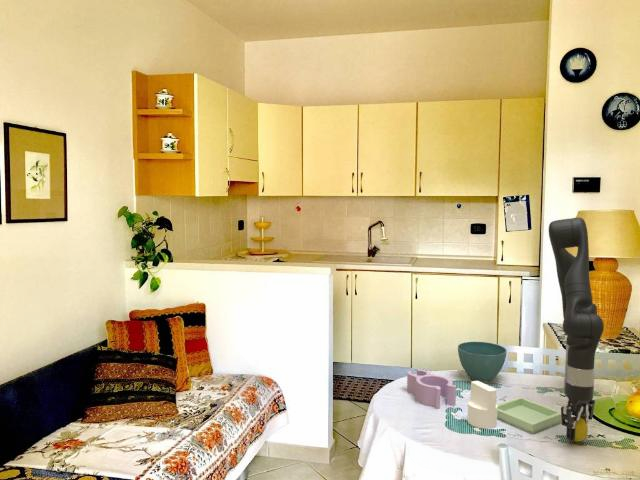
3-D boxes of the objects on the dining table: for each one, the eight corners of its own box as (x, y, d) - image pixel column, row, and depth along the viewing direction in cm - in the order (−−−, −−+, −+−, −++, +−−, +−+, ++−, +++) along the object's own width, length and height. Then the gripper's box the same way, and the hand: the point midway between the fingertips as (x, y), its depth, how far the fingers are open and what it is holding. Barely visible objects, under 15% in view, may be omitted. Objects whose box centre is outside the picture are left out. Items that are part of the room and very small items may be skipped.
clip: (398, 390, 199) (399, 372, 199) (426, 385, 205) (426, 367, 204) (432, 410, 181) (432, 390, 181) (461, 404, 187) (462, 385, 186)
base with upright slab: (461, 419, 175) (462, 382, 173) (483, 414, 178) (485, 379, 177) (480, 430, 166) (481, 392, 165) (503, 425, 170) (504, 388, 169)
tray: (519, 405, 186) (520, 396, 186) (563, 422, 173) (563, 413, 173) (489, 415, 177) (489, 406, 177) (532, 434, 164) (532, 424, 164)
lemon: (562, 438, 162) (563, 412, 161) (580, 437, 162) (581, 411, 161) (572, 446, 156) (574, 420, 156) (590, 446, 157) (592, 419, 156)
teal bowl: (495, 390, 200) (497, 358, 198) (449, 379, 211) (450, 349, 209) (511, 377, 214) (513, 347, 213) (467, 367, 225) (468, 338, 224)
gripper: (581, 373, 165) (577, 427, 166) (553, 381, 157) (550, 438, 158) (605, 380, 159) (602, 436, 160) (577, 389, 151) (574, 448, 152)
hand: (576, 436), depth 159 cm, fingers closed on lemon, 5 cm apart
